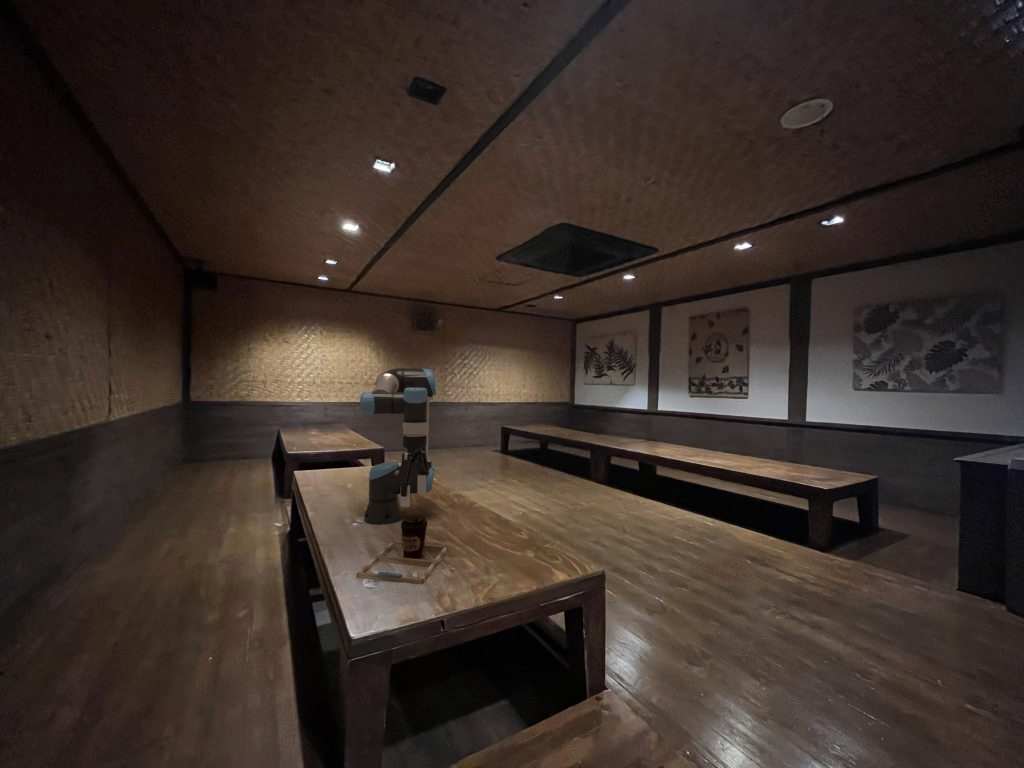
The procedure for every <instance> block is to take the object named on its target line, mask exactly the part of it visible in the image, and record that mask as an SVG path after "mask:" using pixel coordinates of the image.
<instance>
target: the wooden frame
mask: <svg viewBox="0 0 1024 768" xmlns="http://www.w3.org/2000/svg"><path fill="white" fill-rule="evenodd" d="M394 549H395V550H396V549H398V550H399V549H400V550H403V548H402V541H394V540H393V541H391V542H389V544H388V545H386V546H385V547H384V548H383V549H382V550H381V551H380V552H379V553H377V555H375V556H374V557H373V558H371V559H370V561H368V563H366V564H365V565H364V566H363V567H362V568H361V569H360V570H358V571H357V572H356V575H355V578H358V579H368V580H369V579H370V580H378V581H386V582H387V581H388V582H396V583H406V584H415V585H423V584H424V583H425V581H427V579H428V578H429V577H430V576H431V574H432V573H433V572H434V570H435V569H436V567H437V566H438V565H439V564H440V563H441V561H442V560H443V559H444V557H445V556H446V555H447V554H448V553H449V546H448V545H438V544H429V543H427V544H426V543H425V544H424V547H423V552H429V553H438V555H437V556H436V557H435V558H434V560H431V559H411V558H403V557H399V556H390V555H389V556H387V554H388V553H390V552H391V551H393V550H394ZM377 563H386V564H387V563H388V564H398V565H399V564H400V565H408V566H418V567H419V566H420V567H428V568H427V569H426V570H425V571H424V573H423V574H422V575H421V576H420V577H414V576H413V577H411V576H403V573H398V572H397V573H396V572H385V571H378V572H377V573H374V572H373V573H372V572H371V573H370V572H368V571H369V570H370V569H371V568H373V567H374V566H375V565H376V564H377Z"/></svg>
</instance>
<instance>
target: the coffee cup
mask: <svg viewBox="0 0 1024 768" xmlns="http://www.w3.org/2000/svg"><path fill="white" fill-rule="evenodd" d="M426 519H427V517H425V516H423V515H410V516H406V517H403V518H402V522H401V525H400V528H401V542H402V548H403V549H402V551H403V555H402V556H403V557H402V558H411V559H421V560H423V558H424V554H423V552H424V551H423V547H424V544H426V539H427V538H426V537H427V527H428V520H426Z"/></svg>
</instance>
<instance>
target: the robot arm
mask: <svg viewBox="0 0 1024 768" xmlns="http://www.w3.org/2000/svg"><path fill="white" fill-rule="evenodd" d="M435 379H436V378H435V373H434V370H432V369H430V368H429V369H428V368H423V367H422V368H407V367H404V368H403V367H397V368H391V369H389V370H386V371H384V372H382V373H381V374H379V375H378V376H377V378H376V379H375V385H374V388H373V390H372V391H366V392H362V393H361V394H360V398H359V410H360V412H361V413H362V414H365V415H371V416H372V415H403V419H402V420H403V423H402V425H401V426H402V428H403V429H402V433H403V436H402V446H403V448H406V450H407V451H406V452H402V455H401V463H400V465H399V462H397V461H394V462H393V461H390V462H381V463H378V464H375V465H374V466H372V467H371V468H370V469H369V474H368V475H369V476H368V481H369V482H368V490H369V491H368V504H367V506H366V509H365V513H364V515H363V522H364V523H366V524H368V525H375V526H376V525H377V526H384V525H391V524H394V523H397V522H400V521H401V520H403V511H402V507H403V508H409V507H410V503H411V502H410V500H411V499H410V498H411V497H410V495H413V494H416V495H422V496H423V495H427V494H428V493H430V492H431V491H432V489H433V484H434V478H435V469H436V466H435V465H434V464H432V459H430V458H429V435H430V434H429V430H430V429H429V427H430V425H429V423H430V420H429V419H430V402H431V401H432V400H433V396H436V394H437V390H436V389H437V388H436V380H435ZM399 495H400V496H399ZM399 497H400V500H399ZM399 501H400V502H399Z"/></svg>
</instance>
